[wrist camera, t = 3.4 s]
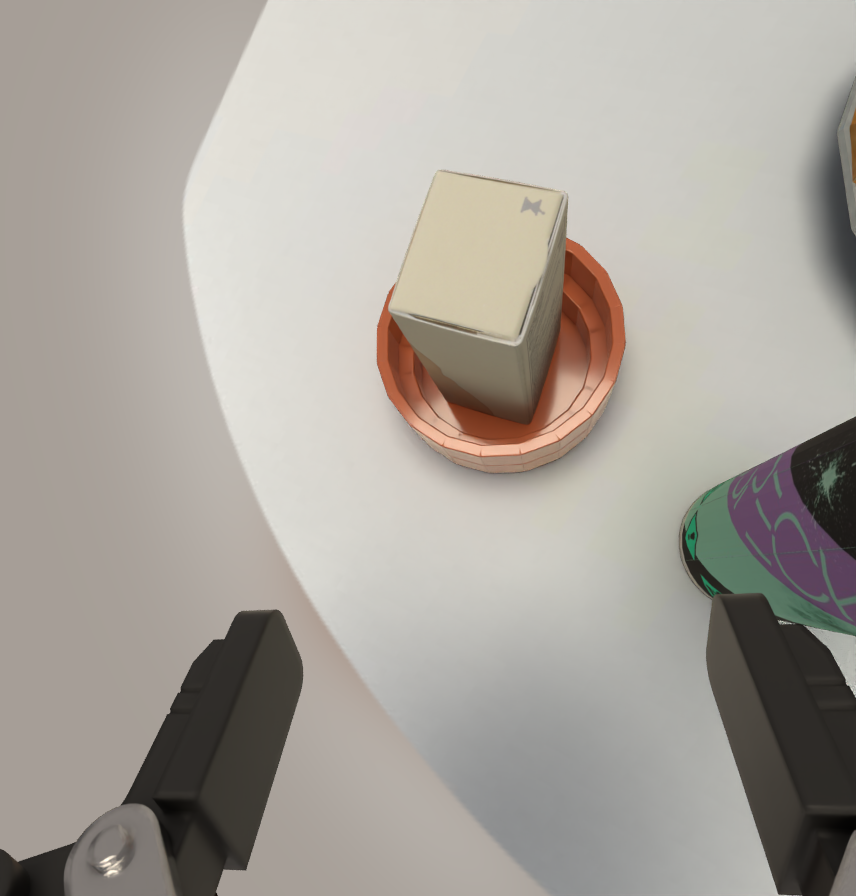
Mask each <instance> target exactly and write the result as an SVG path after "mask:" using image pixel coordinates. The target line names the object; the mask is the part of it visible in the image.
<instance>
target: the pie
mask: <svg viewBox="0 0 856 896" xmlns="http://www.w3.org/2000/svg"><path fill="white" fill-rule="evenodd" d="M837 137H838V144H839V150H840V157H841V164H842V170H843V177H844V184H845V190H846V197H847V203H848V210H849V217H850V223H851V230H852V231H853V233H854V234H855V236H856V77H855V80H854V83H853V86H852V89H851V92H850V95H849V98H848V101H847V104H846V107H845V110H844V113H843V116H842V119H841V122H840V124H839V127H838V130H837Z"/></svg>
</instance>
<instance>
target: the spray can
mask: <svg viewBox="0 0 856 896" xmlns="http://www.w3.org/2000/svg"><path fill="white" fill-rule="evenodd" d="M679 550H680V554H681V559H682V562H683V565H684V567H685V569H686V572H687V574H688V575H689V577H690V578H691V580H692V581H693V583H694V584H695V585H696V586H697V587H698V588H699V589H700V590H701V591H702V592H703V593H704V594H705V595H706V596H708V597H709V598H711V599H712V600H713V597H714V595H716V594H742V593H762V594H763V595H764V596H765V597H766V598H767V600H768V602H769V604H770V606H771V608H772V610H773V612H774V614H775V616H776V618H777V620H781V621H786V622H790V623H795V624H802V625H805V626H810V627H815V628H819V629H824V630H829V631H834V632H839V633H843V634H848V635H853V636H856V417H854V418H852V419H850V420H848V421H846V422H844V423H842V424H840V425H838V426H836V427H834V428H832V429H830V430H828V431H826V432H824V433H822V434H820V435H818V436H816V437H814V438H812V439H810V440H808V441H806V442H804V443H802V444H800V445H798V446H796V447H794V448H792V449H790V450H788V451H786V452H784V453H782V454H780V455H778V456H776V457H774V458H772V459H770V460H768V461H766V462H764V463H762V464H760V465H758V466H756V467H754V468H751V469H749V470H747V471H745V472H743V473H741V474H739V475H737V476H735V477H733V478H731V479H729V480H727V481H725V482H723V483H721V484H719V485H717V486H715V487H714V488H712V489H710V490H709V491H707V492H705V493H704V494H703V495H702V496H701V497H699V498H698V499H697V500H696V501H695V502H694V503H693V504H692V506H691V507H690V508H689V510H688V511H687V513H686V515H685V517H684V519H683V522H682V524H681V529H680V534H679Z"/></svg>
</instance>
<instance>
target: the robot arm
mask: <svg viewBox="0 0 856 896" xmlns="http://www.w3.org/2000/svg"><path fill="white" fill-rule="evenodd" d="M706 661H707V670H708V676H709V680H710V684H711V688H712V691H713V694H714V697H715V700H716V703H717V706H718V709H719V712H720V716H721V719H722V722H723V725H724V728H725V731H726V734H727V737H728V740H729V743H730V746H731V749H732V753H733V756H734V759H735V762H736V765H737V768H738V771H739V774H740V777H741V780H742V783H743V786H744V790H745V793H746V796H747V799H748V802H749V805H750V808H751V811H752V814H753V817H754V820H755V823H756V826H757V830H758V833H759V836H760V839H761V842H762V845H763V848H764V851H765V854H766V857H767V860H768V863H769V867H770V870H771V873H772V876H773V879H774V882H775V885H776V888H777V891H778V894H779V895H802V896H856V698H855V696H854V694H853V692H852V691H851V689H850V687H849V686H847V685H846V679H845V678H844V676H843V674H842V672H841V670H840V668H839V666H838V665H837V663H836V661H835V659H834V657H833V655H832V653H831V652H830V650H829V649H828V648H827V647H826V646H825V645H824V644H823V643H822V642H821V641H820V640H819V639H818V638H816V637H815V636H814V635H813V634H812V633H811V632H810V631H809V630H808V629H807V628H806V627H805V626H803V625H802V624H783V625H779V623H778V620H777V618H776V616H775V614H774V612H773V610H772V608H771V606H770V604H769V602H768V600H767V598H766V597H765V596H764V595H763V594H762V593H742V594H716V595H714V597H713V600H712V608H711V616H710V624H709V632H708V640H707V648H706ZM302 683H303V666H302V660H301V657H300V654H299V652H298V650H297V647H296V645H295V642H294V640H293V638H292V635H291V633H290V631H289V629H288V626H287V624H286V621H285V619H284V616H283V615H282V613H281V612H280V611H279V610H257V611H241V612H239V613H238V614H237V615H236V616H235V618H234V620H233V622H232V624H231V626H230V628H229V631H228V633H227V635H226V637H225V639H224V640H223V639H221V640H213V641H212V642H211V643H210V644H209V646H208V647H207V648H206V649H205V650H204V651H203V652H202V653H201V654H200V655H199V656H198V657H197V659H196V660H195V661H194V662H193V663H192V665H191V668H190V670H189V672H188V674H187V676H186V678H185V680H184V682H183V684H182V686H181V692H180V693H178V694H177V696H176V698H175V700H174V702H173V704H172V706H171V708H170V710H171V712H170V714H167V716H166V718H165V721H164V722H163V724H162V726H161V728H160V730H159V732H158V735H157V736H156V738H155V741H154V742H153V745H152V746H151V749H150V751H149V753H148V755H147V757H146V759H145V761H144V763H143V765H142V767H141V769H140V771H139V773H138V775H137V777H136V779H135V781H134V783H133V785H132V787H131V789H130V791H129V793H128V795H127V796H126V798H125V800H124V801H123V803H122V804H121V806H119V807H116V808H114V809H112V810H110V811H108V812H106V813H105V814H103V815H102V816H100V817H99V818H98V819H96V820H95V821H94V822H93V823H92V824H91V825H90V826H89V827H88V828H87V829H86V830H85V831H84V832H83V833H82V835H81V836H80V837H79V839H78V840H77V842H75V843H72V844H70V845H67V846H64V847H61V848H58V849H55V850H52V851H49V852H46V853H43V854H40V855H37V856H34V857H31V858H28V859H25V860H22V861H19V862H17V861H16V860H14V859H13V858H12V857H11V856H10V855H9V854H8V853H6V852H5V851H4V850H1V849H0V896H218V895H217V893H216V890H217V887H218V884H219V881H220V878H221V875H222V871H223V869H226V870H246V869H247V865H248V862H249V859H250V856H251V852H252V849H253V846H254V842H255V839H256V836H257V832H258V829H259V826H260V823H261V819H262V816H263V813H264V810H265V807H266V803H267V800H268V797H269V793H270V790H271V787H272V784H273V780H274V777H275V774H276V771H277V768H278V764H279V761H280V758H281V755H282V751H283V748H284V745H285V741H286V738H287V735H288V732H289V728H290V725H291V722H292V719H293V715H294V712H295V709H296V706H297V702H298V699H299V696H300V692H301V689H302Z"/></svg>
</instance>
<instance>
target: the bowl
mask: <svg viewBox="0 0 856 896" xmlns="http://www.w3.org/2000/svg"><path fill="white" fill-rule="evenodd" d="M395 284H396V283H395ZM395 284H394V286H393V287H392V288H391V290H390V291H389V294H388V295H387V299H386V302H385V305H384V308H383V311H382V314H381V317H380V320H379V323H378V326H377V327H378V328H377V365H378V368H379V371H380V374H381V377H382V380H383V383H384V386H385V389H386V392H387V395H388V397H389V399H390V400H391V401H392V403H393V404H394V405H395V407H396V408H397V409H398V411H399V412H400V413H401V414H402V416H403V417H404V418H405V420H406V421H407V422H408V424H409V425H410V426H411V427H412V428H413V429H414V430H415V431H416V433H417V434H418V435H419V436H420V437H421V438H422V439H423V440H424V441H425V442H426V443H427V444H428V445H429V446H430V447H431V448H433V449H434V450H436V451H437V452H439V453H440V454H442V455H443V456H445V457H446V458H448V459H449V460H451V461H452V462H454V463H455V464H456V463H457V464H458V465H462V466H465V467H469V468H473V469H476V470H480V471H483V472H489V473H506V472H524V471H528V470H530V469H533V468H536V467H539V466H541V465H544V464H547V463H550V462H552V461H555V460H557V458H558V459H559V458H561V457H562V456H563V455H564V454H566V453H567V452H568V451H570V450H571V449H572V448H573V447H575V446H576V445H577V444H579V443H580V442H581V441H583V440H584V439H585V437H586V436H588V434H589V433H590V431H591V430H592V428H593V427H594V425H595V424H596V422H597V421H598V419H599V418H600V416H601V415H602V413H603V412H604V410H605V408H606V406H607V404H608V401H609V398H610V396H611V393H612V390H613V388H614V385H615V382H616V379H617V375H618V372H619V368H620V364H621V360H622V357H623V353H624V349H625V343H626V340H625V327H624V315H623V307H622V303H621V301H620V299H619V297H618V295H617V293H616V290H615V288H614V286H613V284H612V282H611V279H610V277H609V275H608V273H607V272H606V270H605V269H604V268H603V267H602V266H601V265H600V264H599V263H598V262H597V261H596V260H595V259H594V258H593V257H592V256H591V255H590V254H589V253H588V252H587V251H586V250H585V249H584V248H583V247H582V246H581V245H580V244H578V243H576V242H574V241H572V240H570V239H568V238H566V250H565V265H564V282H563V296H562V311H561V329H560V333H559V336H558V340H557V343H556V347H555V351H554V354H553V357H552V361H551V364H550V367H549V371H548V374H547V377H546V381H545V384H544V387H543V390H542V393H541V396H540V399H539V402H538V405H537V408H536V411H535V413H534V416H533V419H532V421H531V423H530V424H527V425H526V424H521V423H518V422H514V421H510V420H506V419H503V418H499V417H496V416H492V415H489V414H485V413H482V412H479V411H475V410H472V409H469V408H466V407H463V406H460V405H457V404H454V403H450V402H448V401H446V400H445V398H444V397H443V395H442V394H441V392H440V391H439V389H438V388H437V386H436V384H435V383H434V381H433V380H432V378H431V377H430V375H429V374H428V372H427V370H426V369H425V367H424V366H423V364H422V363H421V361H420V360H419V358H418V356H417V355H416V353H415V351H414V350H413V348H412V347H411V345H410V344H409V342H408V341H407V339H406V337H405V336H404V334H403V333H402V331H401V330H400V328H399V326H398V325H397V323H396V322H395V320H394V319H393V317H392V316H391V314H390V313H389V311H388V306H389V303H390V300H391V297H392V294H393V291H394V288H395Z"/></svg>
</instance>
